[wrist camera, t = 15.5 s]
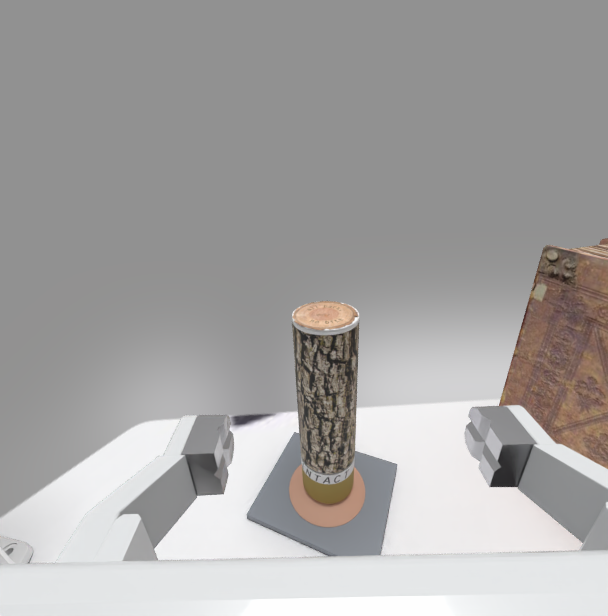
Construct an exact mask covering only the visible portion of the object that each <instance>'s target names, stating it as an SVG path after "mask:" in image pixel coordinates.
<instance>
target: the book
mask: <svg viewBox="0 0 608 616" xmlns="http://www.w3.org/2000/svg"><path fill="white" fill-rule="evenodd" d="M508 405H520V406H522V407H523V408H524V409H525V410H526V411H527V412H528V413H529V414H530V415H531V416H532V417H533V419H534V420H535V421H536V422H537V423H538V424H539V425H540V426H541V428H542V429H543V430H544V431H545V432H546V433H547V434H548V435H549V436H550V438H551V439H552V440H553V441H554V442H555V443H556V444H562V445H564V446H566V447H568V448H570V449H571V450H573V451H575V452H577V453H579V454H581V455H583V456H584V457H586V458H588V459H590V460H592V461H594V462H595V463H597V464H599V465H601V466H603V467H605V468H606V469H608V239H602V240H601V241H600V244H599V245H597V246H589V247H582V248H574V249H565V248H561V247H557V246H553V245H546V246H545V247H544V248H543V252H542V255H541V259H540V262H539V266H538V269H537V273H536V276H535V280H534V283H533V287H532V290H531V294H530V298H529V302H528V305H527V308H526V313H525V315H524V319H523V322H522V326H521V330H520V333H519V336H518V340H517V344H516V347H515V351H514V354H513V358H512V361H511V365H510V369H509V372H508V376H507V379H506V382H505V386H504V390H503V393H502V397H501V400H500V404H499V406H508Z"/></svg>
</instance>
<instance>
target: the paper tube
mask: <svg viewBox="0 0 608 616" xmlns="http://www.w3.org/2000/svg"><path fill="white" fill-rule="evenodd" d="M292 327H293V342H294V357H295V372H296V387H297V402H298V418H299V433H300V449H301V463H302V476H303V484H304V488H305V490H306V492H307V493H308V494H309V495H310V496H311V497H312V498H313V499H315V500H316V501H318V502H321V503H325V504H333V503H337V502H340V501H342V500H343V499H345V498H346V497H347V496H348V495H349V494H350V492H351V490H352V487H353V483H354V461H355V431H356V401H357V400H356V399H357V370H358V339H359V313H358V311H357V310H356V309H355V308H354V307H352V306H350V305H347V304H344V303H340V302H333V301H320V302H313V303H308V304H305V305H303V306H300V307H299V308H297V309H296V310H295V311H294V312H293V314H292Z"/></svg>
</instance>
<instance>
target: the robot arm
mask: <svg viewBox="0 0 608 616" xmlns="http://www.w3.org/2000/svg"><path fill="white" fill-rule="evenodd" d="M469 418H470V419H471V422H470V423H469V424H468V425H467V426H466V429H465V441H466V445H467V448H468V450H469V452H470V454H471V455H472V456H473V457H474V458H476V459H477V460H478V461H480V464H479V470H480V471H481V473H482V475H483V476H484V478H485V480H486V482H487V483H488V485H489V487H518V489H519V490H520V491H521V492H522V493H524V494H525V495H526V496H527V497H528V498H530V499H531V500H532V501H533V502H534V503H536V504H537V505H538V506H539V507H540V508H542V509H543V510H544V511H545V512H546V513H548V514H549V515H550V516H551V517H552V518H554V519H555V520H556V521H557V522H558V523H560V524H561V525H562V526H563V527H564V528H566V529H567V530H568V531H569V532H570V533H572V534H573V535H574V536H575V537H576V538H578V539H579V540H580V541H581V542H582V543H583V544H582V546H581V548H580V550H579V551H538V552H496V553H454V554H413V555H370V556H326V557H282V558H239V559H195V560H158V558H157V556H156V553H155V551H154V548H155V547H156V546H157V545H158V543H159V542H160V541H161V540H162V539H163V537H164V536H165V535H166V534H167V533H168V531H169V530H170V529H171V528H172V527H173V525H174V524H175V523H176V522H177V521H178V519H179V518H180V517H181V516H182V515H183V514H184V512H185V511H186V510H187V509H188V508H189V506H190V505H191V504H192V503H193V502H194V500H195V499H196V498H197V496H201V495H218V494H224V491H225V487H226V483H227V479H228V470H227V467H228V466H229V465H230V464H231V462H232V458H233V451H234V438H233V433H232V432H231V431H229V428H230V425H231V422H230V418H229V416H228V415H199V416H184V417H182V418H181V419H180V421H179V424H178V426H177V428H176V430H175V432H174V434H173V436H172V438H171V440H170V442H169V444H168V446H167V448H166V450H165V453H164V455H163V456H158V457H156V458H155V459H154V460H153V461H151V462H150V463H149V464H148V465H146V466H145V467H144V468H143V469H141V470H140V471H139V472H137V473H136V474H135V475H134V476H132V477H131V478H130V479H129V480H127V481H126V482H125V483H124V484H122V485H121V486H120V487H119V488H117V489H116V490H115V491H113V492H112V493H111V494H110V495H108V496H107V497H106V498H105V499H103V500H102V501H101V502H100V503H98V504H97V505H96V506H95V507H93V508H92V509H91V510H90V511H88V512H87V513H86V514H85V515H84V517H83V518H82V520H81V522H80V523H79V525H78V526H77V528H76V530H75V531H74V533H73V534H72V536H71V538H70V539H69V541H68V543H67V544H66V546H65V547H64V549H63V551H62V552H61V554H60V555H59V557H58V559H57V560H56V562H55V563H28V562H29V560H30V558H31V556H32V553H33V549H32V547H31V546H30V545H29V544H27V543H25V542H22V541H18V540H14V539H10V538H7V537H3V536H0V616H608V469H606V468H605V467H603V466H601V465H599V464H597V463H595V462H594V461H592V460H590V459H588V458H586V457H584V456H583V455H581V454H579V453H577V452H575V451H573V450H571V449H570V448H568V447H566V446H564V445H562V444H556V443H555V442H554V441H553V440H552V439H551V438H550V436H549V435H548V434H547V433H546V432H545V431H544V430H543V429H542V428H541V426H540V425H539V424H538V423H537V422H536V421H535V420H534V419H533V417H532V416H531V415H530V414H529V413H528V412H527V411H526V410H525V409H524V408H523V407H522V406H520V405H508V406H487V407H472V408H471V410H470V412H469ZM10 553H11V554H10ZM9 554H10V555H9Z"/></svg>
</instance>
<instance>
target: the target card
mask: <svg viewBox="0 0 608 616" xmlns="http://www.w3.org/2000/svg"><path fill="white" fill-rule="evenodd" d="M396 469H397V464H395V463H392V462H389V461H385V460H382V459H379V458H376V457H373V456H369V455H366V454H363V453H360V452H357V451H355V461H354V483H353V487H352V490H351V492H350V494H349V495H348V496H347V497H346V498H345V499H343V500H342V501H340V502H337V503H333V504H325V503H321V502H318V501H316V500H315V499H313V498H312V497H311V496H310V495H309V494H308V493H307V492H306V490H305V488H304V484H303V476H302V463H301V449H300V434H299V433H296V432H294V434H293V436H292V437H291V439H290V441H289V443H288V444H287V446H286V448H285V449H284V451H283V453H282V455H281V456H280V458H279V460H278V462H277V463H276V465H275V467H274V468H273V470H272V472H271V474H270V475H269V477H268V479H267V480H266V482H265V484H264V486H263V487H262V489H261V491H260V492H259V494H258V496H257V498H256V499H255V501H254V503H253V505H252V506H251V508H250V510H249V511H248V513H247V519H250V520H252V521H254V522H256V523H258V524H261V525H263V526H265V527H267V528H269V529H272V530H274V531H276V532H278V533H280V534H283V535H285V536H287V537H289V538H291V539H294V540H296V541H298V542H300V543H302V544H305V545H307V546H309V547H311V548H313V549H315V550H318V551H320V552H322V553H324V554H326V555H329V556H370V555H380V553H381V548H382V543H383V538H384V532H385V527H386V522H387V517H388V511H389V506H390V501H391V496H392V490H393V485H394V480H395V475H396Z"/></svg>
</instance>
